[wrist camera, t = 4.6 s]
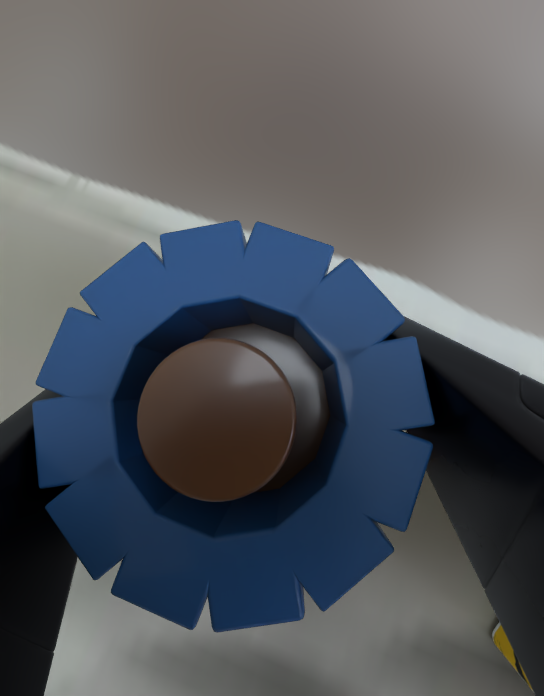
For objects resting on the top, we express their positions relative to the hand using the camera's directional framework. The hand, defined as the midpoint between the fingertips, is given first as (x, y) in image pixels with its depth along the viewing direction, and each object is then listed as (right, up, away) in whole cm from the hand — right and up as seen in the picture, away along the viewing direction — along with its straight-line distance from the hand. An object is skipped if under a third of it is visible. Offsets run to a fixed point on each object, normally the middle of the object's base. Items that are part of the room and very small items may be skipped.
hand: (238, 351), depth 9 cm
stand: (+1, -2, +7) cm, 7 cm away
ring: (0, -1, 0) cm, 1 cm away
